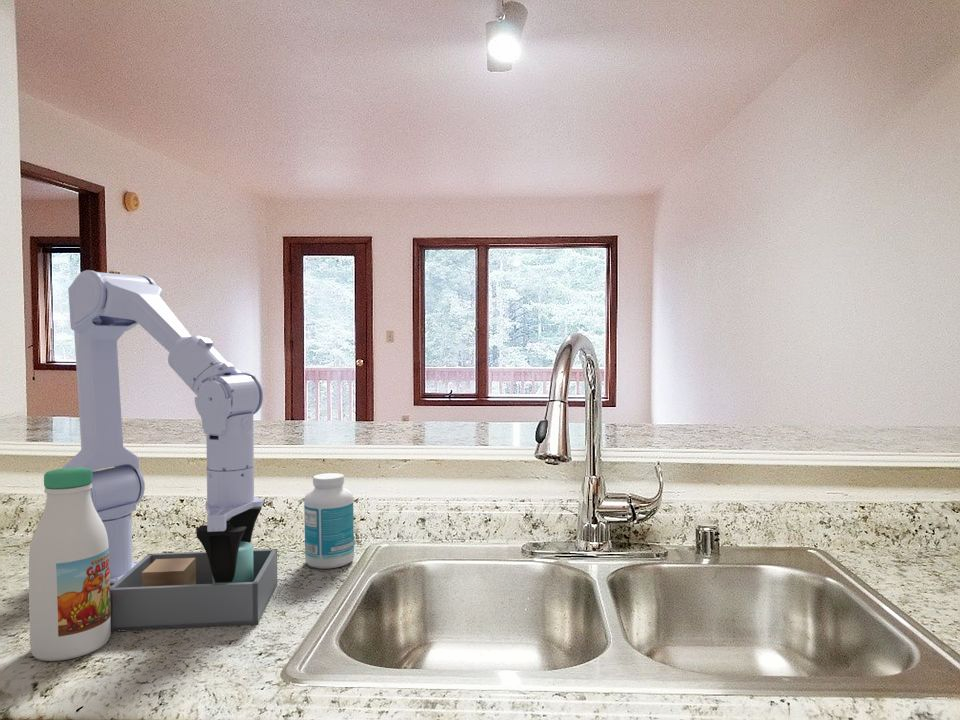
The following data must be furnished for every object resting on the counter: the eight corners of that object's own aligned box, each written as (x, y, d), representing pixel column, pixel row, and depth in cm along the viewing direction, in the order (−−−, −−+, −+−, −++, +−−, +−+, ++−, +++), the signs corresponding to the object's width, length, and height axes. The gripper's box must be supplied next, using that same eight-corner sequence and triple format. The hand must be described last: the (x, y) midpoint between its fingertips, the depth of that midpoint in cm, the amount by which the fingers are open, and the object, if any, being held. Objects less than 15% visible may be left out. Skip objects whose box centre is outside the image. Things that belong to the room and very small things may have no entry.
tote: (107, 631, 78) (106, 590, 78) (149, 589, 91) (148, 553, 91) (258, 624, 80) (257, 583, 80) (277, 583, 93) (277, 548, 93)
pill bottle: (359, 555, 106) (359, 471, 105) (345, 571, 98) (345, 481, 98) (314, 553, 106) (313, 470, 106) (297, 569, 99) (296, 480, 99)
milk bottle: (25, 669, 69) (21, 480, 68) (35, 639, 76) (31, 467, 75) (109, 653, 73) (106, 473, 72) (112, 626, 79) (109, 461, 79)
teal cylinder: (208, 609, 83) (207, 554, 83) (218, 593, 88) (217, 542, 88) (249, 607, 84) (248, 552, 84) (257, 592, 89) (256, 540, 89)
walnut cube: (142, 612, 82) (141, 572, 82) (156, 596, 87) (156, 559, 87) (184, 610, 83) (183, 570, 83) (196, 594, 88) (195, 557, 88)
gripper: (250, 478, 79) (251, 590, 79) (272, 456, 93) (273, 551, 94) (188, 479, 78) (189, 593, 78) (220, 457, 92) (221, 553, 93)
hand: (231, 570), depth 86 cm, fingers open, 7 cm apart
